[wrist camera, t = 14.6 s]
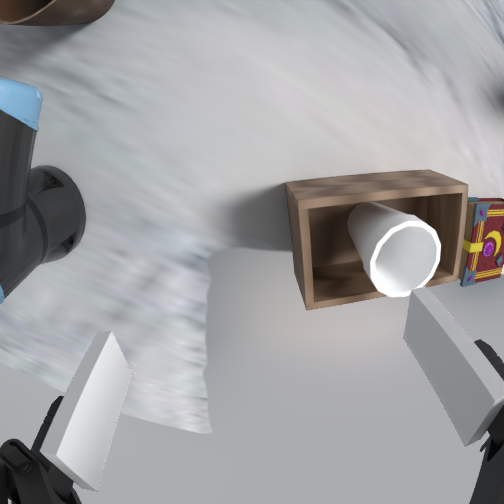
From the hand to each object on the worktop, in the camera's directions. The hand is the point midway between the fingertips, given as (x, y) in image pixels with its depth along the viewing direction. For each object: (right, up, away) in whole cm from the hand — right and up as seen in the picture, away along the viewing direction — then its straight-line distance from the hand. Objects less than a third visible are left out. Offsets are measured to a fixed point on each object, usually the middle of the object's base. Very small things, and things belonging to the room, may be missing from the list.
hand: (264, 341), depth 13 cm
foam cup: (+16, +8, +31) cm, 36 cm away
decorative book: (+41, +6, +34) cm, 54 cm away
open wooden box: (+16, +8, +31) cm, 36 cm away
